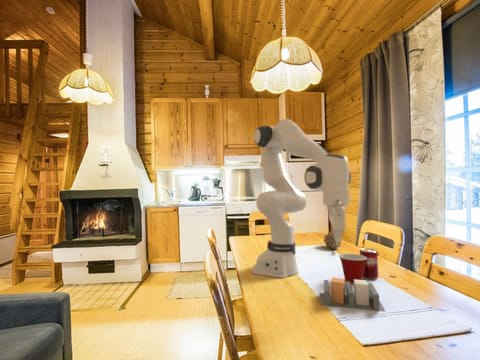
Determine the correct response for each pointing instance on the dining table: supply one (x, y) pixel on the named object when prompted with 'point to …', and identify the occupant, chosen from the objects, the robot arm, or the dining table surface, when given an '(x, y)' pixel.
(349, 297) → the grey slotted rack
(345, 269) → the plastic cup
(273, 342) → the dining table surface
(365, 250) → the soda can
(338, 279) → the orange block
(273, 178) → the robot arm
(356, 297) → the cream rectangular block
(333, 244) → the pine cone
